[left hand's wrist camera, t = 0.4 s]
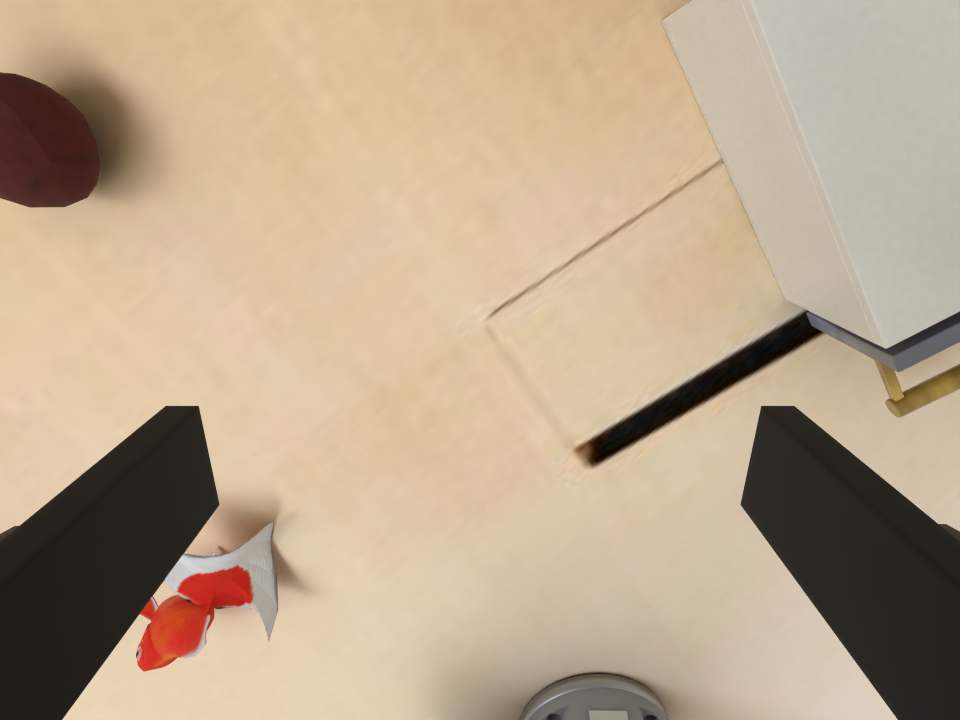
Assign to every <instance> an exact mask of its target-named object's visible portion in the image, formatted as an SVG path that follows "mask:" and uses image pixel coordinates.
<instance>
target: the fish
mask: <svg viewBox="0 0 960 720" xmlns="http://www.w3.org/2000/svg"><path fill="white" fill-rule="evenodd" d="M273 524H274V521H272V522H271V523H269V524H268V525H266V526H265V527H264V528H263V529H262V530H260V531H259V532H258V533H257V534H256V535H255V536H254V537H253V538H252V539H250V540H249V541H247V542H246V543H245V544H243V545H242V546H240V547H239V548H237V549H235V550H234V551H232V552H231V553H229V554H224V555H218V556H215V553H216V549H215V551H214V553H213V556H195V555H190V554H183V555H182V556H181V558H180V559H179V561H178V562H177V563H176V565H175V566H174V567H173V569H172V570H171V571H170V573H169V574H168V576H167V577H166V578H165V581H166V583H167V584H168V585H169V587H170V588H171V589H173V590H174V591H175V592H176V593H177V594H178V595H175V596H172V597H170V598H168V599H167V600H165V601H164V602H163V603H162V604H161V605H160V606H159V607H158V605H157V603H156V601H155V599H154V597H153V596H152V597H151V599H150V600H149V602H148V603H147V604H146V606H145V607H144V608H143V610H142V611H141V612H140V614H141V615H143V616H144V617H146V618H148V619H149V620H151V623H150V624H148V626H147V628H146V630H145V633H144V635H143V637H142V640H141V642H140V644H139V646H138V649H137V653H136V658H137V662H138V666H139V667H140V668H141V669H142V670H143V671H148V670H153V669H158V668H161V667H164V666H167V665H169V664H170V663H172V662H173V661H174V660H175V659H176V658H177V657H180V658H189V657H193V656H196V655H197V654H198V653H199V652H200V651H201V650H202V648H203V647H204V645H205V644H206V632H207V630H208V628H209V627H210V625H211V623H212V621H213V619H214V609H213V608H215V609H221V608H231V607H243V608H248V609H255V610H256V611H257V612H258V613H259V615H260V617H261V618H262V620H263V622H264V625H265V628H266V631H267V635H268V641H269V640H270V636H271V633H272V629H273V626H274V622H275V619H276V615H277V612H278V594H277V576H276V570H275V564H274V558H273V552H272V545H271V538H272V532H273Z"/></svg>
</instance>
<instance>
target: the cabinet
mask: <svg viewBox="0 0 960 720" xmlns="http://www.w3.org/2000/svg"><path fill="white" fill-rule="evenodd" d="M661 22H662V24H663V26H664V29H665V31H666V33H667V35H668V38H669V40H670V42H671V44H672V47H673V49H674V51H675V53H676V56H677V58H678V60H679V62H680V65H681V67H682V69H683V71H684V74H685V76H686V78H687V80H688V83H689V85H690V87H691V89H692V92H693V94H694V96H695V98H696V101H697V103H698V105H699V107H700V110H701V112H702V114H703V116H704V119H705V121H706V123H707V125H708V128H709V130H710V132H711V134H712V137H713V139H714V141H715V143H716V146H717V148H718V150H719V152H720V155H721V157H722V159H723V161H724V164H725V166H726V168H727V170H728V173H729V175H730V177H731V179H732V181H733V184H734V186H735V188H736V190H737V193H738V195H739V197H740V199H741V202H742V204H743V206H744V208H745V211H746V213H747V215H748V217H749V220H750V222H751V224H752V226H753V229H754V231H755V233H756V235H757V238H758V240H759V242H760V244H761V247H762V249H763V251H764V253H765V256H766V258H767V260H768V262H769V265H770V267H771V269H772V271H773V274H774V276H775V278H776V280H777V283H778V285H779V287H780V289H781V292H782V294H783V296H784V298H785V299H786V300H788V301H790V302H792V303H794V304H796V305H798V306H800V307H802V308H804V309H806V310H808V311H810V312H812V313H814V314H816V315H818V316H820V317H822V318H824V319H826V320H828V321H830V322H832V323H834V324H836V325H838V326H840V327H842V328H844V329H846V330H848V331H850V332H852V333H854V334H856V335H858V336H860V337H862V338H864V339H866V340H868V341H870V342H873V343H875V344H877V345H879V346H881V347H883V348H885V349H887V348H889V347H891V346H893V345H895V344H897V343H899V342H901V341H903V340H905V339H907V338H909V337H911V336H913V335H914V334H916V333H918V332H920V331H922V330H924V329H926V328H928V327H930V326H932V325H934V324H936V323H938V322H940V321H942V320H944V319H946V318H948V317H950V316H952V315H954V314H956V313H958V312H960V0H691V1H689V2H688V3H686V4H685V5H683V6H682V7H681V8H679V9H678V10H676V11H675V12H673V13H672V14H671V15H669V16H668V17H666V18H665V19H663V20H662V21H661Z"/></svg>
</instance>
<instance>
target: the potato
mask: <svg viewBox="0 0 960 720" xmlns="http://www.w3.org/2000/svg"><path fill="white" fill-rule="evenodd" d="M99 168H100V163H99V157H98V151H97V145H96V141H95V138H94V136H93V134H92V132H91V130H90V128H89V126H88V124H87V122H86V119H85V117H84V116H83V115H82V114H81V113H80V112H79V111H78V110H77V109H76V108H75V106H74V105H73V104H72V103H71V102H70V101H69V100H67V99H66V98H64V97H63V96H61V95H60V94H58V93H57V92H55V91H54V90H52V89H51V88H49V87H48V86H46V85H44V84H42V83H39V82H37V81H35V80H32V79H30V78H27V77H23V76H20V75H17V74H10V73H0V198H2V199H5V200H8V201H11V202H15V203H18V204H21V205H24V206H27V207H66V206H68V205H71V204H73V203H76V202H78V201H81V200H83V199H85V198H87V197H88V196H89V195H90V193H91V192H92V190H93V189H94V187H95V186H96V184H97V180H98V174H99Z"/></svg>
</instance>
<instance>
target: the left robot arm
mask: <svg viewBox="0 0 960 720" xmlns="http://www.w3.org/2000/svg"><path fill="white" fill-rule="evenodd" d="M218 506H219V500H218V496H217V491H216V486H215V481H214V477H213V472H212V467H211V462H210V458H209V453H208V448H207V443H206V439H205V434H204V429H203V424H202V420H201V415H200V410H199V406H165V407H164V408H163V409H162V410H160V411H159V412H158V413H157V414H156V415H154V416H153V417H152V418H151V419H149V420H148V421H147V422H146V423H145V424H143V425H142V426H141V427H140V428H138V429H137V430H136V431H135V432H134V433H132V434H131V435H130V436H129V437H127V438H126V439H125V440H124V441H123V442H121V443H120V444H119V445H118V446H117V447H115V448H114V449H113V450H112V451H110V452H109V453H108V454H107V455H106V456H104V457H103V458H102V459H101V460H99V461H98V462H97V463H96V464H95V465H93V466H92V467H91V468H90V469H88V470H87V471H86V472H85V473H84V474H82V475H81V476H80V477H79V478H77V479H76V480H75V481H74V482H73V483H71V484H70V485H69V486H68V487H66V488H65V489H64V490H63V491H62V492H60V493H59V494H58V495H57V496H56V497H54V498H53V499H52V500H51V501H49V502H48V503H47V504H46V505H45V506H43V507H42V508H41V509H40V510H38V511H37V512H36V513H35V514H34V515H32V516H31V517H30V518H29V519H27V520H26V521H25V522H24V523H23V524H21V525H20V526H14V527H12V528H10V529H9V530H7V531H5V532H3V533H1V534H0V720H62V719H63V718H64V716H65V715H66V714H67V712H68V711H69V709H70V708H71V707H72V705H73V704H74V703H75V701H76V700H77V699H78V697H79V696H80V694H81V693H82V692H83V690H84V689H85V688H86V686H87V685H88V684H89V682H90V681H91V679H92V678H93V677H94V675H95V674H96V673H97V671H98V670H99V668H100V667H101V666H102V664H103V663H104V662H105V660H106V659H107V658H108V656H109V655H110V653H111V652H112V651H113V649H114V648H115V647H116V645H117V644H118V643H119V641H120V640H121V638H122V637H123V636H124V634H125V633H126V632H127V630H128V629H129V627H130V626H131V625H132V623H133V622H134V621H135V619H136V618H137V617H138V615H139V614H140V612H141V611H142V610H143V608H144V607H145V606H146V604H147V603H148V602H149V600H150V599H151V597H152V596H153V595H154V593H155V592H156V591H157V589H158V588H159V586H160V585H161V584H162V582H163V581H164V580H165V578H166V577H167V576H168V574H169V573H170V571H171V570H172V569H173V567H174V566H175V565H176V563H177V562H178V561H179V559H180V558H181V556H182V555H183V554H184V552H185V551H186V550H187V548H188V547H189V545H190V544H191V543H192V541H193V540H194V539H195V537H196V536H197V535H198V533H199V532H200V530H201V529H202V528H203V526H204V525H205V524H206V522H207V521H208V520H209V518H210V517H211V515H212V514H213V513H214V511H215V510H216V509H217V507H218ZM741 506H742V507H743V509H744V510H745V511H746V513H747V514H748V515H749V517H750V518H751V520H752V521H753V522H754V524H755V525H756V526H757V528H758V529H759V530H760V532H761V533H762V535H763V536H764V537H765V539H766V540H767V541H768V543H769V544H770V545H771V547H772V548H773V550H774V551H775V552H776V554H777V555H778V556H779V558H780V559H781V561H782V562H783V563H784V565H785V566H786V567H787V569H788V570H789V571H790V573H791V574H792V576H793V577H794V578H795V580H796V581H797V582H798V584H799V585H800V586H801V588H802V589H803V591H804V592H805V593H806V595H807V596H808V597H809V599H810V600H811V602H812V603H813V604H814V606H815V607H816V608H817V610H818V611H819V612H820V614H821V615H822V617H823V618H824V619H825V621H826V622H827V623H828V625H829V626H830V627H831V629H832V630H833V632H834V633H835V634H836V636H837V637H838V638H839V640H840V641H841V643H842V644H843V645H844V647H845V648H846V649H847V651H848V652H849V653H850V655H851V656H852V658H853V659H854V660H855V662H856V663H857V664H858V666H859V667H860V668H861V670H862V671H863V673H864V674H865V675H866V677H867V678H868V679H869V681H870V682H871V684H872V685H873V686H874V688H875V689H876V690H877V692H878V693H879V694H880V696H881V697H882V699H883V700H884V701H885V703H886V704H887V705H888V707H889V708H890V709H891V711H892V712H893V714H894V715H895V716H896V718H897V719H898V720H960V532H959V531H957V530H956V529H954V528H952V527H950V526H948V525H946V524H937V523H936V522H935V521H934V520H933V519H931V518H930V517H929V516H928V515H926V514H925V513H924V512H923V511H922V510H920V509H919V508H918V507H917V506H915V505H914V504H913V503H912V502H911V501H909V500H908V499H907V498H906V497H904V496H903V495H902V494H901V493H900V492H898V491H897V490H896V489H895V488H894V487H892V486H891V485H890V484H889V483H887V482H886V481H885V480H884V479H883V478H881V477H880V476H879V475H878V474H876V473H875V472H874V471H873V470H872V469H870V468H869V467H868V466H867V465H865V464H864V463H863V462H862V461H861V460H859V459H858V458H857V457H856V456H854V455H853V454H852V453H851V452H850V451H848V450H847V449H846V448H845V447H843V446H842V445H841V444H840V443H839V442H837V441H836V440H835V439H834V438H833V437H831V436H830V435H829V434H828V433H826V432H825V431H824V430H823V429H822V428H820V427H819V426H818V425H817V424H815V423H814V422H813V421H812V420H811V419H809V418H808V417H807V416H806V415H804V414H803V413H802V412H801V411H800V410H798V409H797V408H796V407H795V406H761V410H760V415H759V420H758V424H757V429H756V434H755V439H754V443H753V448H752V453H751V458H750V462H749V467H748V472H747V477H746V481H745V486H744V491H743V496H742V500H741ZM520 720H667V716H666V713H665V710H664V708H663V705H662V703H661V702H660V700H659V699H658V698H657V696H656V695H655V694H654V693H653V692H652V691H650V690H649V689H648V688H646V687H645V686H643V685H642V684H640V683H638V682H635V681H633V680H630V679H627V678H624V677H620V676H615V675H606V674H590V675H582V676H576V677H572V678H568V679H565V680H562V681H559V682H557V683H555V684H553V685H551V686H549V687H547V688H546V689H544V690H542V691H541V692H540V693H538V694H537V695H536V696H535V697H534V698H533V699H532V700H531V701H530V702H529V704H528V705H527V706H526V708H525V709H524V711H523V714H522V716H521V719H520Z"/></svg>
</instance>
